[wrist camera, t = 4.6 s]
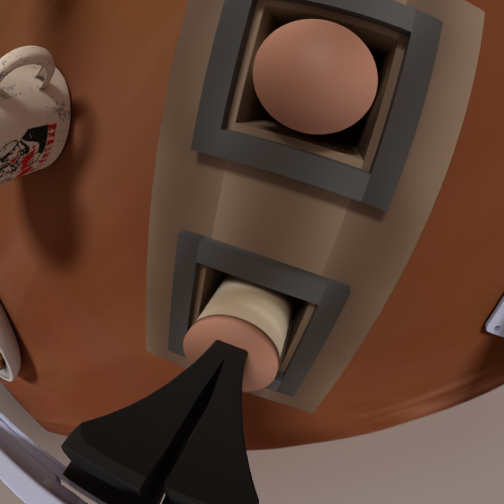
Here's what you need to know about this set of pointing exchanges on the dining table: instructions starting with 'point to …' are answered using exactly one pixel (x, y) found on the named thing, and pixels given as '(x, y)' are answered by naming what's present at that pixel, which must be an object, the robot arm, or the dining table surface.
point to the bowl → (8, 349)
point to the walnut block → (301, 177)
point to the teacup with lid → (31, 112)
